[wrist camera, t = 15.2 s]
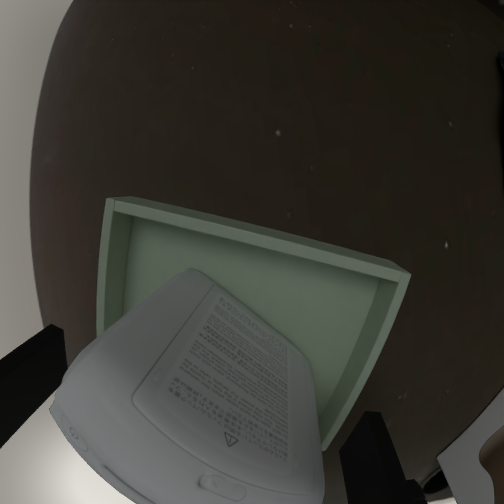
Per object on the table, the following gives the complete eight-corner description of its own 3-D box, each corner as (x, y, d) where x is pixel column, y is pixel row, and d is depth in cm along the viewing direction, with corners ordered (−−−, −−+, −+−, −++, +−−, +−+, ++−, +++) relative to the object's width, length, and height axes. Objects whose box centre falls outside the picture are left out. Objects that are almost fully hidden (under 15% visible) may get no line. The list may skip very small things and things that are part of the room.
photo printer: (150, 303, 17) (15, 432, 5) (188, 252, 16) (29, 370, 4) (274, 396, 18) (262, 564, 6) (319, 357, 17) (351, 540, 5)
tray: (117, 369, 19) (99, 390, 16) (131, 196, 17) (106, 197, 14) (321, 423, 19) (325, 451, 16) (391, 260, 16) (411, 274, 13)
